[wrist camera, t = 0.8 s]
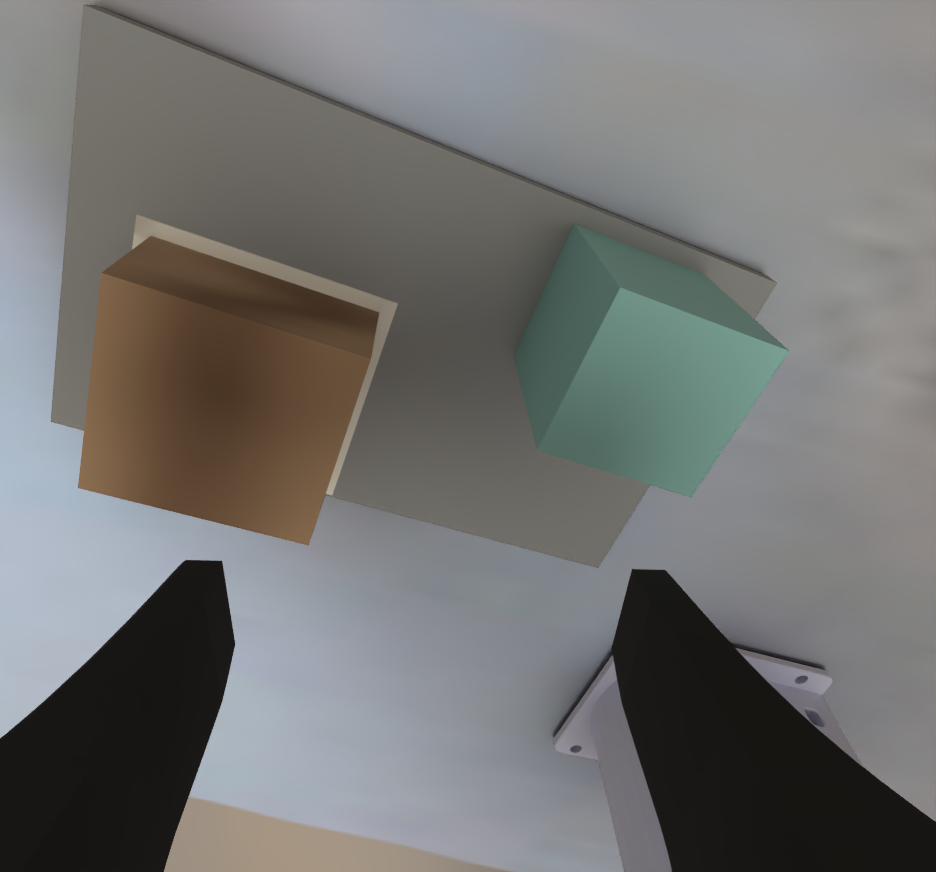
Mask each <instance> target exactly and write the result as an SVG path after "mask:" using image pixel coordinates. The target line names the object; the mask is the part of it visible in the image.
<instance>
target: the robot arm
mask: <svg viewBox="0 0 936 872" xmlns="http://www.w3.org/2000/svg"><path fill="white" fill-rule="evenodd" d="M234 647H235V640H234V634H233V628H232V621H231V615H230V609H229V602H228V596H227V590H226V583H225V577H224V570H223V564H222V561H203V560H185V561H184V562H183V563H182V564H181V565H180V566H179V567H178V568H177V569H176V570H175V571H174V572H173V573H172V574H171V575H170V576H169V577H168V578H167V579H166V581H165V582H164V583H163V584H162V585H161V586H160V587H159V588H158V589H157V590H156V591H155V592H154V594H153V595H152V596H151V597H150V598H149V599H148V600H147V601H146V602H145V603H144V604H143V605H142V606H141V607H140V608H139V609H138V610H137V612H136V613H135V614H134V615H133V616H132V617H131V618H130V619H129V620H128V621H127V622H126V623H125V624H124V625H123V626H122V627H121V628H120V629H119V630H118V631H117V632H116V633H115V634H114V635H113V636H112V637H111V638H110V639H109V640H108V641H107V642H106V643H105V644H104V645H103V646H102V647H101V648H100V649H99V650H98V651H97V652H96V653H95V654H94V655H93V656H92V657H91V658H90V659H89V660H88V661H87V662H86V663H85V664H84V665H83V666H82V667H81V668H80V669H78V670H77V671H76V672H75V673H74V674H73V675H72V676H71V677H70V678H69V679H68V680H67V681H65V682H64V683H63V684H62V685H61V686H60V687H59V688H58V689H57V690H56V691H55V692H54V693H52V694H51V695H50V696H49V697H48V698H47V699H46V700H45V701H44V702H43V703H42V704H40V705H39V706H38V707H37V708H36V709H35V710H34V711H32V712H31V713H30V714H29V715H28V716H27V717H25V718H24V719H23V720H22V721H21V722H20V723H18V724H17V725H16V726H15V727H14V728H12V729H11V730H10V731H9V732H8V733H6V734H5V735H4V736H3V737H1V738H0V872H164V869H165V865H166V861H167V858H168V855H169V852H170V849H171V845H172V842H173V839H174V836H175V833H176V830H177V827H178V824H179V822H180V819H181V816H182V813H183V810H184V808H185V805H186V802H187V799H188V796H189V794H190V791H191V788H192V785H193V782H194V780H195V777H196V774H197V771H198V768H199V766H200V763H201V760H202V757H203V754H204V752H205V749H206V746H207V743H208V740H209V738H210V735H211V732H212V729H213V726H214V723H215V720H216V718H217V715H218V712H219V709H220V706H221V703H222V700H223V696H224V691H225V687H226V683H227V679H228V675H229V670H230V665H231V661H232V656H233V652H234ZM612 654H613V655H612V656H611V658H610V659H609V660H608V662H607V663H606V665H605V666H604V667H603V669H602V670H601V672H600V673H599V675H598V676H597V677H596V679H595V680H594V682H593V683H592V685H591V686H590V687H589V689H588V690H587V692H586V693H585V695H584V696H583V697H582V699H581V700H580V702H579V703H578V704H577V706H576V707H575V709H574V710H573V712H572V713H571V714H570V716H569V717H568V719H567V720H566V722H565V723H564V724H563V726H562V727H561V729H560V730H559V732H558V733H557V734H556V736H555V737H554V739H553V743H554V748H555V750H556V751H557V752H560V753H563V754H569V755H574V756H579V757H584V758H589V759H594V760H599V765H600V769H601V773H602V778H603V782H604V786H605V791H606V795H607V799H608V804H609V808H610V813H611V817H612V821H613V826H614V830H615V834H616V839H617V843H618V847H619V852H620V856H621V861H622V865H623V869H624V872H936V822H935V821H934V820H932V819H931V818H929V817H928V816H927V815H925V814H924V813H922V812H921V811H920V810H919V809H917V808H916V807H915V806H913V805H912V804H911V803H909V802H908V801H907V800H905V799H904V798H903V797H901V796H900V795H899V794H897V793H896V792H895V791H893V790H892V789H891V788H889V787H888V786H887V785H885V784H884V783H883V782H881V781H880V780H879V779H877V778H876V777H875V776H874V775H872V774H871V773H870V772H869V771H867V770H866V769H865V768H864V767H863V766H862V764H861V762H860V760H859V759H858V757H857V755H856V754H855V752H854V750H853V749H852V747H851V745H850V743H849V742H848V740H847V738H846V737H845V735H844V733H843V731H842V730H841V728H840V726H839V725H838V723H837V721H836V719H835V718H834V716H833V714H832V713H831V711H830V709H829V707H828V706H827V704H826V702H825V701H824V699H823V697H822V696H821V695H822V694H823V693H824V692H825V691H826V690H827V689H828V688H829V687H830V686H831V684H832V678H831V677H830V675H829V673H828V672H827V671H825V670H822V669H818V668H814V667H810V666H806V665H802V664H798V663H794V662H790V661H786V660H782V659H778V658H774V657H770V656H766V655H762V654H758V653H754V652H750V651H746V650H742V649H738V648H735V647H734V646H733V645H732V644H731V643H730V642H729V641H728V640H727V639H726V638H725V637H724V635H723V634H722V633H721V632H720V631H719V630H718V629H717V628H716V627H715V625H714V624H713V623H712V622H711V621H710V620H709V619H708V618H707V617H706V615H705V614H704V613H703V612H702V611H701V610H700V609H699V608H698V606H697V605H696V604H695V603H694V602H693V601H692V600H691V598H690V597H689V596H688V595H687V594H686V593H685V592H684V591H683V589H682V588H681V587H680V586H679V585H678V584H677V583H676V581H675V580H674V579H673V578H672V577H671V576H670V575H669V574H668V572H667V571H666V570H639V569H632V572H631V576H630V580H629V583H628V587H627V591H626V595H625V599H624V603H623V606H622V610H621V614H620V618H619V622H618V626H617V630H616V633H615V637H614V641H613V645H612Z"/></svg>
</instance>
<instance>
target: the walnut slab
mask: <svg viewBox="0 0 936 872" xmlns="http://www.w3.org/2000/svg"><path fill="white" fill-rule="evenodd" d="M378 317H379V312H377V311H374V310H371V309H368V308H365V307H362V306H359V305H356V304H353V303H350V302H347V301H344V300H341V299H338V298H335V297H332V296H329V295H326V294H323V293H320V292H317V291H314V290H311V289H308V288H305V287H302V286H299V285H296V284H293V283H290V282H287V281H284V280H281V279H279V278H276V277H273V276H270V275H267V274H264V273H261V272H258V271H255V270H252V269H249V268H246V267H243V266H240V265H237V264H234V263H231V262H228V261H225V260H222V259H219V258H216V257H213V256H210V255H207V254H204V253H201V252H198V251H195V250H192V249H189V248H186V247H183V246H180V245H177V244H174V243H171V242H168V241H165V240H162V239H159V238H156V237H153V236H150V237H148V238H147V239H146V240H144V241H143V242H142V243H140V244H139V245H138V246H136V247H135V248H134V249H132V250H131V251H130V252H128V253H127V254H126V255H124V256H123V257H122V258H120V259H119V260H118V261H116V262H115V263H114V264H112V265H111V266H110V267H108V268H107V269H106V270H104V271H103V272H102V273H101V280H100V290H99V299H98V308H97V317H96V327H95V336H94V345H93V355H92V364H91V373H90V382H89V392H88V401H87V410H86V419H85V429H84V438H83V447H82V456H81V466H80V475H79V484H78V488H81V489H85V490H89V491H93V492H97V493H101V494H105V495H109V496H113V497H117V498H121V499H125V500H129V501H133V502H137V503H141V504H145V505H149V506H153V507H157V508H161V509H165V510H169V511H173V512H177V513H181V514H185V515H189V516H193V517H197V518H201V519H205V520H209V521H213V522H217V523H221V524H225V525H229V526H233V527H237V528H241V529H245V530H249V531H253V532H257V533H261V534H265V535H269V536H273V537H277V538H282V539H286V540H290V541H294V542H298V543H302V544H306V545H309V542H310V539H311V536H312V533H313V530H314V527H315V524H316V521H317V518H318V515H319V512H320V509H321V506H322V503H323V500H324V497H325V494H326V491H327V488H328V485H329V482H330V479H331V477H332V474H333V471H334V468H335V465H336V462H337V459H338V456H339V453H340V450H341V447H342V444H343V441H344V438H345V435H346V432H347V429H348V426H349V423H350V420H351V417H352V414H353V411H354V408H355V405H356V402H357V399H358V396H359V393H360V390H361V387H362V384H363V381H364V378H365V375H366V372H367V369H368V366H369V363H370V360H371V356H372V351H373V345H374V339H375V334H376V328H377V323H378Z"/></svg>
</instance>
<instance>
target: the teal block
mask: <svg viewBox="0 0 936 872" xmlns="http://www.w3.org/2000/svg"><path fill="white" fill-rule="evenodd" d="M788 352H789V350H788V349H787V348H785V347H784V346H783V345H782V344H781V343H780V342H779V341H778V340H777V339H775V338H774V337H773V336H772V335H771V334H770V333H769V332H768V331H767V330H766V329H764V328H763V327H762V326H761V325H760V324H759V323H758V322H757V321H756V320H754V319H753V318H752V317H751V316H750V315H749V314H748V313H747V312H746V311H745V310H743V309H742V308H741V307H740V306H739V305H738V304H737V303H736V302H735V301H733V300H732V299H731V298H730V297H729V296H728V295H727V294H726V293H725V292H724V291H722V290H721V289H720V288H719V287H718V286H717V285H716V284H715V283H714V282H712V281H711V280H710V279H709V278H708V277H707V276H706V275H704V274H701V273H699V272H696V271H693V270H691V269H688V268H686V267H683V266H681V265H678V264H676V263H673V262H671V261H668V260H665V259H663V258H660V257H658V256H655V255H653V254H650V253H648V252H645V251H643V250H640V249H637V248H635V247H632V246H630V245H627V244H625V243H622V242H620V241H617V240H615V239H612V238H609V237H607V236H604V235H602V234H599V233H597V232H594V231H592V230H589V229H587V228H584V227H581V226H579V225H576V224H573V226H572V228H571V231H570V233H569V235H568V237H567V239H566V242H565V244H564V246H563V248H562V251H561V253H560V255H559V257H558V259H557V262H556V264H555V266H554V268H553V270H552V273H551V275H550V277H549V279H548V282H547V284H546V286H545V288H544V290H543V293H542V295H541V297H540V299H539V301H538V304H537V306H536V308H535V310H534V313H533V315H532V317H531V319H530V321H529V324H528V326H527V328H526V330H525V332H524V335H523V337H522V339H521V341H520V344H519V346H518V348H517V350H516V352H515V355H514V360H515V364H516V368H517V372H518V376H519V380H520V384H521V388H522V392H523V396H524V400H525V404H526V408H527V412H528V416H529V420H530V424H531V428H532V432H533V436H534V439H535V443H536V447H537V451H541V452H544V453H547V454H551V455H554V456H557V457H560V458H564V459H567V460H570V461H574V462H577V463H580V464H583V465H587V466H590V467H593V468H597V469H600V470H603V471H606V472H610V473H613V474H616V475H620V476H623V477H626V478H629V479H633V480H636V481H639V482H642V483H646V484H649V485H652V486H656V487H659V488H662V489H665V490H669V491H672V492H675V493H679V494H682V495H685V496H688V497H691V496H692V495H693V493H694V492H695V490H696V489H697V487H698V486H699V484H700V483H701V481H702V480H703V479H704V477H705V476H706V474H707V473H708V471H709V470H710V468H711V467H712V465H713V464H714V462H715V461H716V459H717V458H718V456H719V455H720V453H721V452H722V450H723V449H724V447H725V446H726V444H727V443H728V441H729V440H730V438H731V437H732V435H733V434H734V432H735V431H736V429H737V428H738V427H739V425H740V424H741V422H742V421H743V419H744V418H745V416H746V415H747V413H748V412H749V410H750V409H751V407H752V406H753V404H754V403H755V401H756V400H757V398H758V397H759V395H760V394H761V392H762V391H763V389H764V388H765V386H766V385H767V383H768V382H769V380H770V379H771V377H772V376H773V375H774V373H775V372H776V370H777V369H778V367H779V366H780V364H781V363H782V361H783V360H784V358H785V357H786V355H787V354H788Z"/></svg>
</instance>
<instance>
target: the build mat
mask: <svg viewBox="0 0 936 872" xmlns="http://www.w3.org/2000/svg"><path fill="white" fill-rule="evenodd" d="M573 224H576V225H579V226H581V227H584V228H587V229H589V230H592V231H594V232H597V233H599V234H602V235H604V236H607V237H609V238H612V239H615V240H617V241H620V242H622V243H625V244H627V245H630V246H632V247H635V248H637V249H640V250H643V251H645V252H648V253H650V254H653V255H655V256H658V257H660V258H663V259H665V260H668V261H671V262H673V263H676V264H678V265H681V266H683V267H686V268H688V269H691V270H693V271H696V272H699V273H701V274H704V275H706V276H707V277H708V278H709V279H710V280H711V281H712V282H714V283H715V284H716V285H717V286H718V287H719V288H720V289H721V290H722V291H724V292H725V293H726V294H727V295H728V296H729V297H730V298H731V299H732V300H733V301H735V302H736V303H737V304H738V305H739V306H740V307H741V308H742V309H743V310H745V311H746V312H747V313H748V314H749V315H750V316H751V317H752V318H753V319H755V317H756V316H757V314H758V313H759V311H760V309H761V308H762V306H763V305H764V303H765V301H766V300H767V298H768V297H769V295H770V293H771V292H772V290H773V289H774V287H775V286H776V284H777V283H776V282H775V281H774V280H772V279H771V278H770V277H768V276H766V275H764V274H761V273H759V272H756V271H754V270H751V269H749V268H747V267H744V266H742V265H739V264H737V263H734V262H732V261H729V260H727V259H724V258H722V257H719V256H717V255H714V254H712V253H709V252H707V251H704V250H702V249H699V248H697V247H694V246H692V245H689V244H687V243H684V242H682V241H679V240H677V239H674V238H672V237H670V236H667V235H665V234H662V233H660V232H657V231H655V230H652V229H650V228H647V227H645V226H642V225H640V224H637V223H635V222H632V221H630V220H627V219H625V218H622V217H620V216H617V215H615V214H612V213H610V212H607V211H605V210H602V209H600V208H597V207H595V206H593V205H590V204H588V203H585V202H583V201H580V200H578V199H575V198H573V197H570V196H568V195H565V194H563V193H560V192H558V191H555V190H553V189H550V188H548V187H545V186H543V185H540V184H538V183H535V182H533V181H530V180H528V179H525V178H523V177H520V176H518V175H516V174H513V173H511V172H508V171H506V170H503V169H501V168H498V167H496V166H493V165H491V164H488V163H486V162H483V161H481V160H478V159H476V158H473V157H471V156H468V155H466V154H463V153H461V152H458V151H456V150H453V149H451V148H448V147H446V146H443V145H441V144H439V143H436V142H434V141H431V140H429V139H426V138H424V137H421V136H419V135H416V134H414V133H411V132H409V131H406V130H404V129H401V128H399V127H396V126H394V125H391V124H389V123H386V122H384V121H381V120H379V119H376V118H374V117H371V116H369V115H366V114H364V113H362V112H359V111H357V110H354V109H352V108H349V107H347V106H344V105H342V104H339V103H337V102H334V101H332V100H329V99H327V98H324V97H322V96H319V95H317V94H314V93H312V92H309V91H307V90H304V89H302V88H299V87H297V86H294V85H292V84H289V83H287V82H285V81H282V80H280V79H277V78H275V77H272V76H270V75H267V74H265V73H262V72H260V71H257V70H255V69H252V68H250V67H247V66H245V65H242V64H240V63H237V62H235V61H232V60H230V59H227V58H225V57H222V56H220V55H217V54H215V53H212V52H210V51H208V50H205V49H203V48H200V47H198V46H195V45H193V44H190V43H188V42H185V41H183V40H180V39H178V38H175V37H173V36H170V35H168V34H165V33H163V32H160V31H158V30H155V29H153V28H150V27H148V26H145V25H143V24H140V23H138V22H135V21H133V20H131V19H128V18H126V17H123V16H121V15H118V14H116V13H113V12H111V11H108V10H106V9H103V8H101V7H98V6H96V5H83V17H82V29H81V42H80V55H79V68H78V80H77V93H76V106H75V119H74V132H73V144H72V157H71V170H70V183H69V195H68V208H67V221H66V234H65V246H64V259H63V272H62V285H61V298H60V310H59V323H58V336H57V349H56V361H55V374H54V387H53V400H52V412H51V422H54V423H58V424H61V425H65V426H69V427H73V428H76V429H80V430H84V429H85V419H86V410H87V401H88V392H89V382H90V373H91V364H92V355H93V345H94V336H95V327H96V317H97V308H98V299H99V290H100V280H101V273H102V272H103V271H104V270H106V269H107V268H108V267H110V266H111V265H112V264H114V263H115V262H116V261H118V260H119V259H120V258H122V257H123V256H124V255H126V254H127V253H128V252H130V251H131V250H132V249H134V248H135V247H136V246H138V245H139V244H140V243H142V242H143V241H144V240H146V239H147V238H148V237H150V236H153V237H156V238H159V239H162V240H165V241H168V242H171V243H174V244H177V245H180V246H183V247H186V248H189V249H192V250H195V251H198V252H201V253H204V254H207V255H210V256H213V257H216V258H219V259H222V260H225V261H228V262H231V263H234V264H237V265H240V266H243V267H246V268H249V269H252V270H255V271H258V272H261V273H264V274H267V275H270V276H273V277H276V278H279V279H281V280H284V281H287V282H290V283H293V284H296V285H299V286H302V287H305V288H308V289H311V290H314V291H317V292H320V293H323V294H326V295H329V296H332V297H335V298H338V299H341V300H344V301H347V302H350V303H353V304H356V305H359V306H362V307H365V308H368V309H371V310H374V311H377V312H379V317H378V323H377V328H376V334H375V339H374V345H373V351H372V356H371V360H370V363H369V366H368V369H367V372H366V375H365V378H364V381H363V384H362V387H361V390H360V393H359V396H358V399H357V402H356V405H355V408H354V411H353V414H352V417H351V420H350V423H349V426H348V429H347V432H346V435H345V438H344V441H343V444H342V447H341V450H340V453H339V456H338V459H337V462H336V465H335V468H334V471H333V474H332V477H331V479H330V482H329V485H328V488H327V491H326V494H325V495H327V496H331V497H334V498H338V499H342V500H346V501H349V502H353V503H357V504H361V505H364V506H368V507H372V508H376V509H379V510H383V511H387V512H391V513H394V514H398V515H402V516H406V517H409V518H413V519H417V520H420V521H424V522H428V523H432V524H435V525H439V526H443V527H447V528H450V529H454V530H458V531H462V532H465V533H469V534H473V535H477V536H480V537H484V538H488V539H492V540H495V541H499V542H503V543H507V544H510V545H514V546H518V547H521V548H525V549H529V550H533V551H536V552H540V553H544V554H548V555H551V556H555V557H559V558H563V559H566V560H570V561H574V562H578V563H581V564H585V565H589V566H593V567H596V568H598V567H599V566H600V564H601V562H602V561H603V559H604V558H605V556H606V554H607V553H608V551H609V550H610V548H611V547H612V545H613V543H614V542H615V540H616V539H617V537H618V535H619V534H620V532H621V531H622V529H623V527H624V526H625V524H626V523H627V521H628V519H629V518H630V516H631V515H632V513H633V512H634V510H635V508H636V507H637V505H638V504H639V502H640V500H641V499H642V497H643V496H644V494H645V492H646V491H647V489H648V488H649V486H650V485H649V484H646V483H642V482H639V481H636V480H633V479H629V478H626V477H623V476H620V475H616V474H613V473H610V472H606V471H603V470H600V469H597V468H593V467H590V466H587V465H583V464H580V463H577V462H574V461H570V460H567V459H564V458H560V457H557V456H554V455H551V454H547V453H544V452H541V451H537V447H536V443H535V439H534V436H533V432H532V428H531V424H530V420H529V416H528V412H527V408H526V404H525V400H524V396H523V392H522V388H521V384H520V380H519V376H518V372H517V368H516V364H515V360H514V355H515V352H516V350H517V348H518V346H519V344H520V341H521V339H522V337H523V335H524V332H525V330H526V328H527V326H528V324H529V321H530V319H531V317H532V315H533V313H534V310H535V308H536V306H537V304H538V301H539V299H540V297H541V295H542V293H543V290H544V288H545V286H546V284H547V282H548V279H549V277H550V275H551V273H552V270H553V268H554V266H555V264H556V262H557V259H558V257H559V255H560V253H561V251H562V248H563V246H564V244H565V242H566V239H567V237H568V235H569V233H570V231H571V228H572V226H573Z"/></svg>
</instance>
